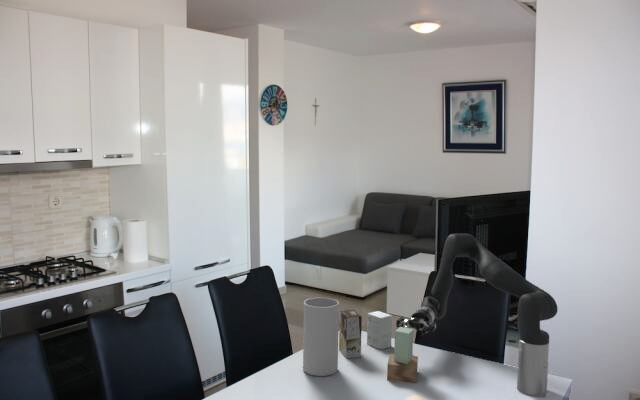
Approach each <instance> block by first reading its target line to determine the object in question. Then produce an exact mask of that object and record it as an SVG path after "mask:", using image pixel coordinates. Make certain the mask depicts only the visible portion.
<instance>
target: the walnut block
mask: <svg viewBox="0 0 640 400" xmlns="http://www.w3.org/2000/svg"><path fill="white" fill-rule="evenodd" d="M387 361H388V362H387V368H386V369H387V370H386V371H387V372H386V373H387V374H386V380H387V381H388V380H389V381H390V382H397V383H398V382H400V383H410V384H417V380H418V379H417V377H418V369H419V368H418V365H419V364H418V361H419V356H418V355H412V360H411V361H410V362H409V363H408V364H404V363H400V362H395V361H394V353H390V354H389V357H388V360H387ZM389 381H388V382H389Z"/></svg>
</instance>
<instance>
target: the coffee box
mask: <svg viewBox="0 0 640 400" xmlns="http://www.w3.org/2000/svg"><path fill="white" fill-rule="evenodd" d="M362 319H363V318H362V315H361V314H360V313H359V312H357V311H356V310H355V309H349V310H348V309H347V310H339V326H338V352H340V353H341V354H342V355H343V356H344V357H345V358H346V359H351V358H361V356H362V328H363V327H362V321H363V320H362Z"/></svg>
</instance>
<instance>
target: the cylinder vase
mask: <svg viewBox="0 0 640 400" xmlns="http://www.w3.org/2000/svg"><path fill="white" fill-rule="evenodd" d="M339 309H340V302H339V300H337V299H334V298H331V297H330V298H329V297H313V298H312V297H311V298H307V299H305V300H304V301H303V338H302V339H303V341H302V343H303V346H302V348H303V349H302V350H303V351H302V352H303V353H302V355H303V356H302V358H303V359H302V369H303V372H305V373H306V374H308V375H311V376H313V377H328V376H331V375H333V374H335V373H337V371H338V369H339V318H340V310H339Z"/></svg>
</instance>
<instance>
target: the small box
mask: <svg viewBox="0 0 640 400" xmlns="http://www.w3.org/2000/svg"><path fill="white" fill-rule="evenodd" d="M392 320H393V315H392V314H388V313H385V312H383V311H380V310H377V311H372V312H367V321H366V322H367V323H366V324H367V325H366V344H367V346H368V345H369V346H371V347H373V348H377V349H378V350H384V349H386V348H389V347H392V329H393V328H392V327H393V323H392V322H393V321H392Z"/></svg>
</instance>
